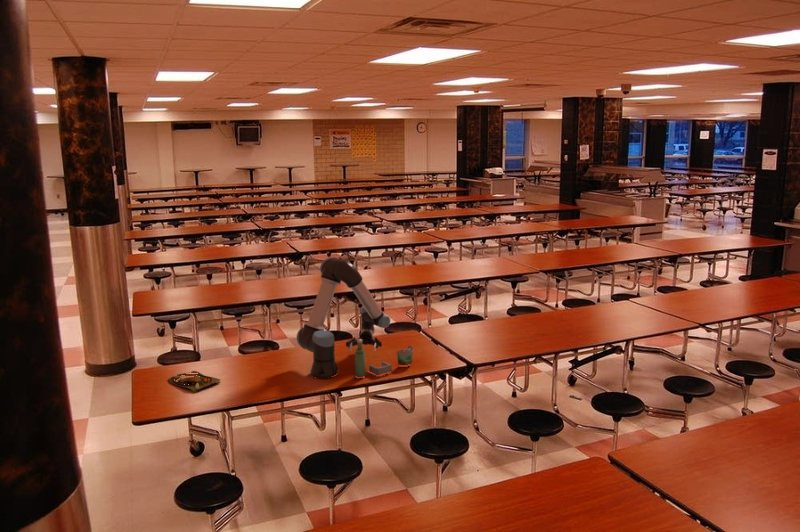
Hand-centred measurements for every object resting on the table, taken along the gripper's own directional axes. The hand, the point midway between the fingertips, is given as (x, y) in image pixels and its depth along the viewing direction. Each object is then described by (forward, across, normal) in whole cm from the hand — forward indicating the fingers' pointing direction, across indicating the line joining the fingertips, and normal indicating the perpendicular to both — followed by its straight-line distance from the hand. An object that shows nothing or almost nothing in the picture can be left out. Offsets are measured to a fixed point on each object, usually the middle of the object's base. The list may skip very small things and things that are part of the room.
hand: (362, 349), depth 342 cm
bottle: (+10, 0, -12) cm, 16 cm away
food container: (-8, -25, -13) cm, 29 cm away
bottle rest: (+3, -9, -13) cm, 16 cm away
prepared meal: (+20, +89, -12) cm, 92 cm away
